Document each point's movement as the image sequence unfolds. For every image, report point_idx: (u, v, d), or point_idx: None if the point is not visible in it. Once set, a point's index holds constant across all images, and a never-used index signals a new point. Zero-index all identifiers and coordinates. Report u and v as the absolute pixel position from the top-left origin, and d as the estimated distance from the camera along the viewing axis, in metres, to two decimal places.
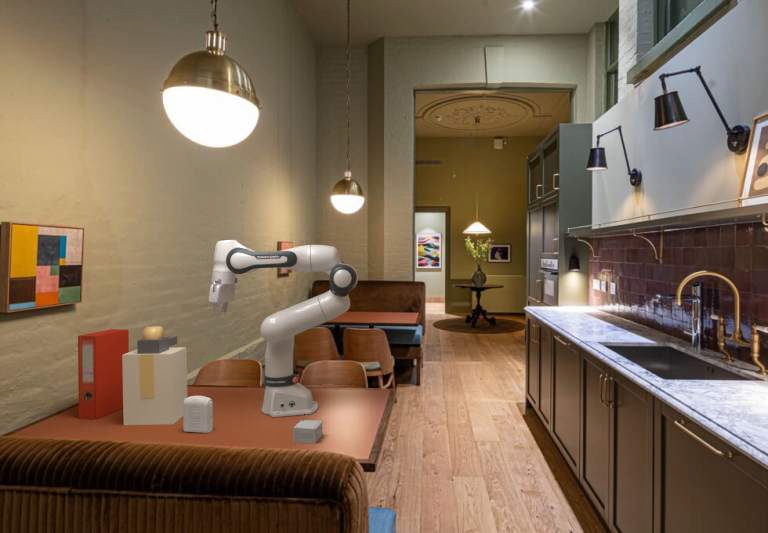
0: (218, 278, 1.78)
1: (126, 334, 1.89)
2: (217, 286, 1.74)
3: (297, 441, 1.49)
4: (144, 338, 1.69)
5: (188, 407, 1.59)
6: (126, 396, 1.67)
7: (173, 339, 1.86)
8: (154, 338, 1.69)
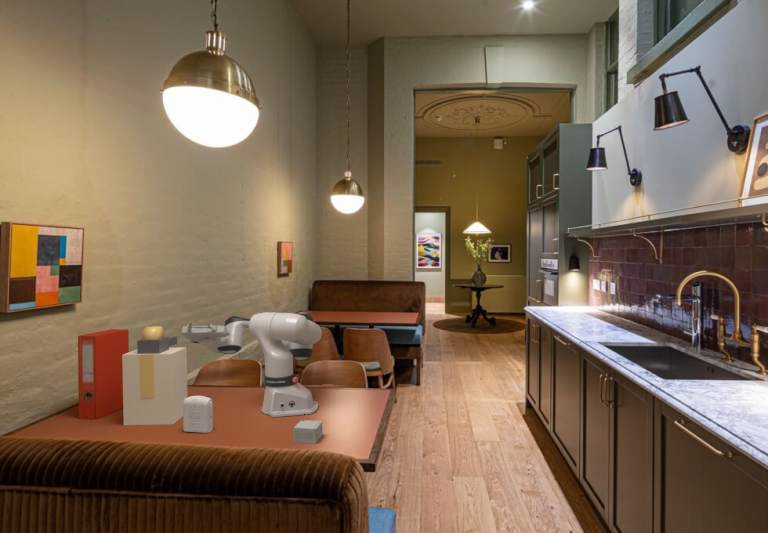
0: None
1: (126, 334, 1.89)
2: None
3: (297, 441, 1.49)
4: (144, 338, 1.69)
5: (188, 408, 1.59)
6: (126, 396, 1.67)
7: (173, 339, 1.86)
8: (154, 338, 1.69)
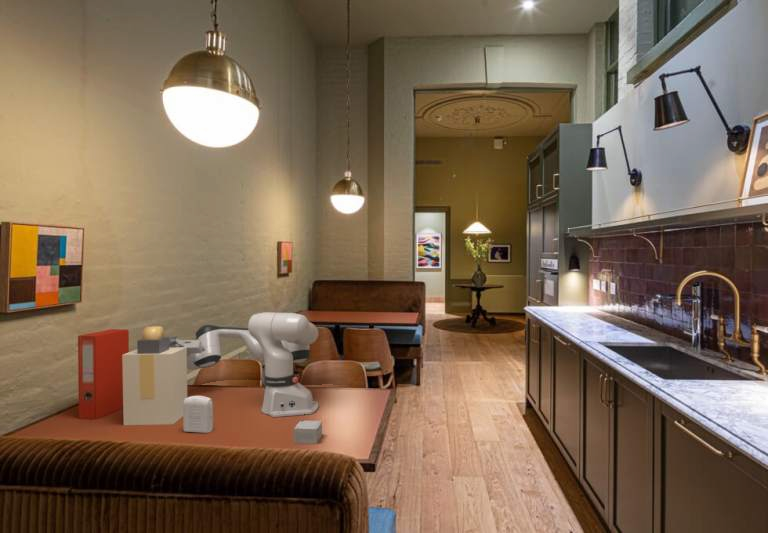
0: None
1: (126, 334, 1.89)
2: None
3: (298, 442, 1.49)
4: (144, 338, 1.69)
5: (188, 407, 1.59)
6: (126, 396, 1.67)
7: (173, 339, 1.86)
8: (154, 338, 1.69)
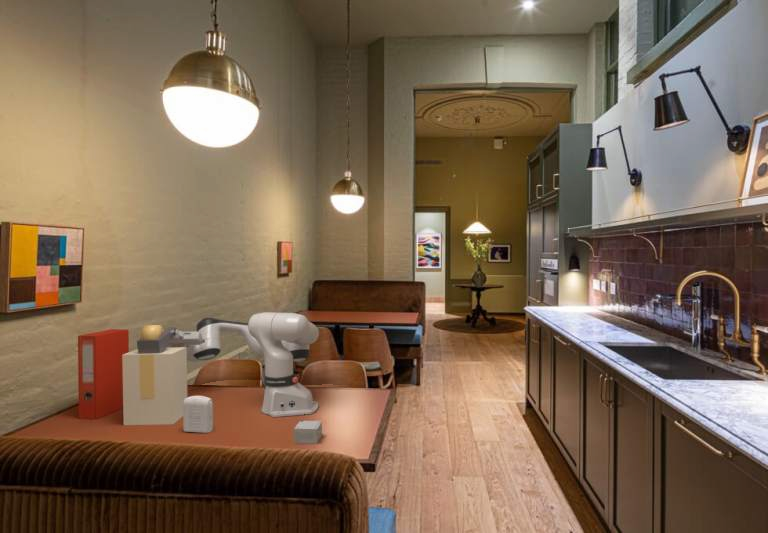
0: None
1: (126, 334, 1.89)
2: None
3: (298, 442, 1.49)
4: (143, 338, 1.68)
5: (188, 407, 1.59)
6: (126, 396, 1.67)
7: (173, 331, 1.86)
8: (153, 338, 1.68)
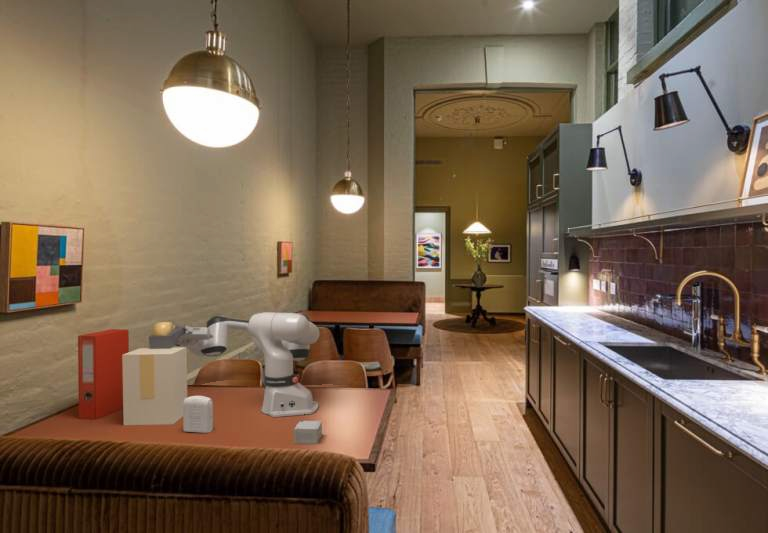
0: None
1: (126, 334, 1.89)
2: None
3: (298, 442, 1.48)
4: (155, 334, 1.78)
5: (188, 408, 1.59)
6: (126, 396, 1.67)
7: (182, 330, 1.95)
8: (164, 334, 1.78)
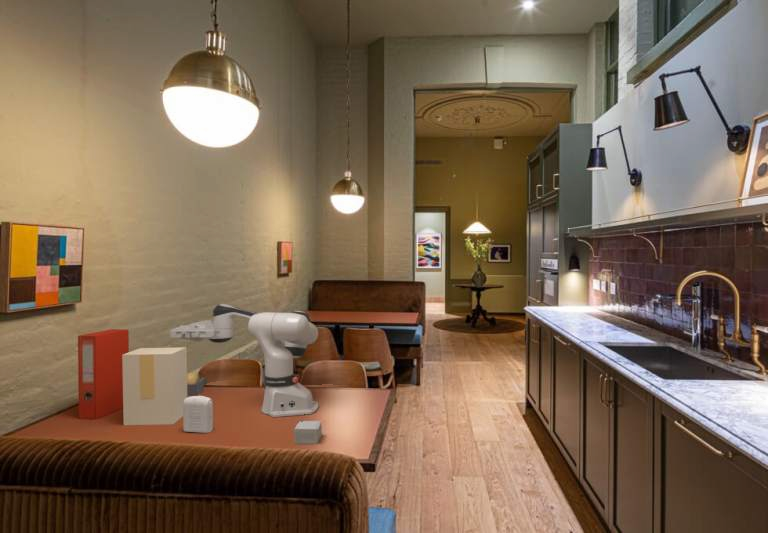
0: None
1: (126, 334, 1.89)
2: None
3: (298, 442, 1.48)
4: None
5: (188, 408, 1.59)
6: (126, 396, 1.67)
7: (204, 380, 2.21)
8: (192, 383, 2.04)
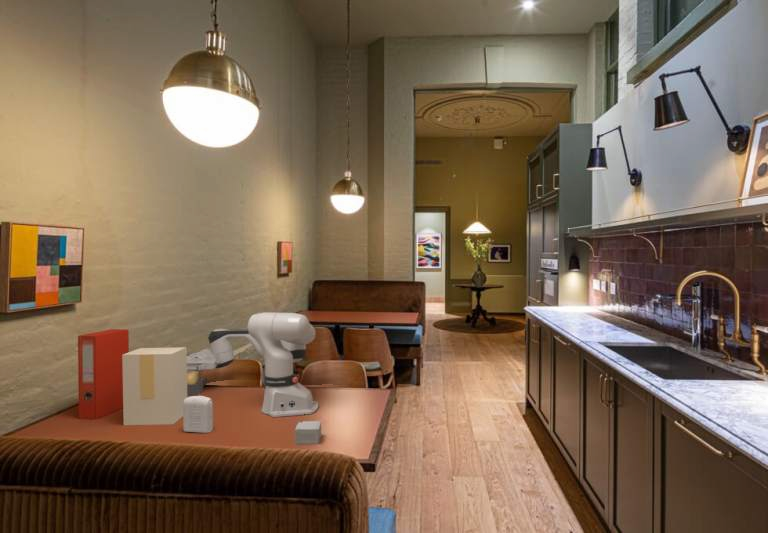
0: None
1: (126, 334, 1.89)
2: None
3: (299, 443, 1.48)
4: None
5: (188, 407, 1.59)
6: (126, 396, 1.67)
7: (204, 380, 2.21)
8: (192, 383, 2.04)
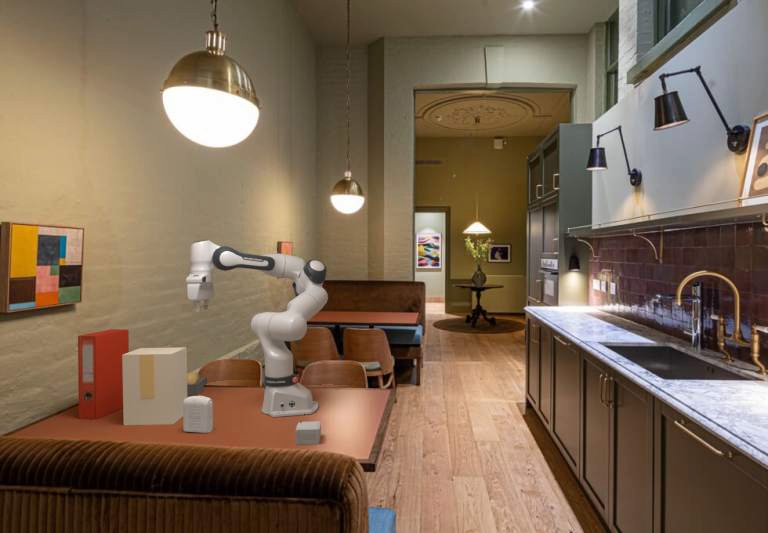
0: None
1: (126, 334, 1.89)
2: None
3: (300, 443, 1.48)
4: None
5: (188, 408, 1.59)
6: (126, 396, 1.67)
7: (204, 380, 2.21)
8: (192, 383, 2.04)
